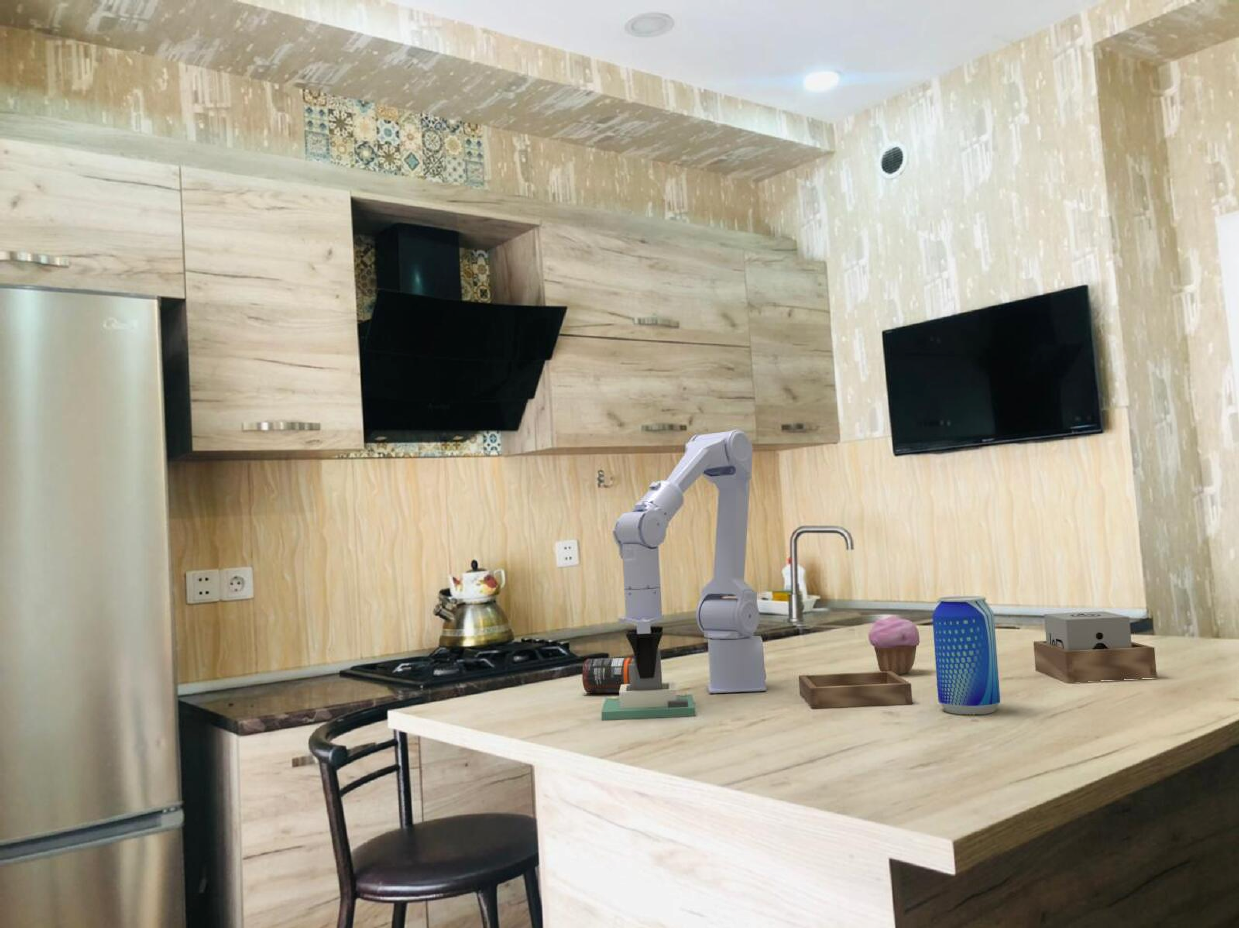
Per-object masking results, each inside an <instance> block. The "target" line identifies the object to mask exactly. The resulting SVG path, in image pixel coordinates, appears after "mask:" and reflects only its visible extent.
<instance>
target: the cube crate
mask: <svg viewBox="0 0 1239 928" xmlns="http://www.w3.org/2000/svg"><path fill="white" fill-rule="evenodd" d="M1131 644H1132V648H1115V649H1094V650H1073V651H1069V650H1066V649H1062V648H1059V647H1056V646H1053V645H1050V644H1047V643H1046V640H1039V641H1038V640H1037V641H1036V640H1035V641H1033V655H1034V663H1035V664H1034V665H1035V668H1034V669H1035V672H1038V673H1041V674H1043V673H1044V674H1043V675H1046V676H1049V677H1051V678H1053V677H1054V678H1053V679H1056V680H1059V681H1061V680H1062V681H1061V682H1063V683H1067V684H1076V683H1075V682H1084V683H1089V682H1088V681H1101V680H1124V679H1142V678H1157V679H1158V675H1157V674H1158V673H1157V664H1156V663H1157V662H1156V650H1155V647H1153V646H1149V645H1147V644H1146V645H1145V644H1143V643H1139V642H1134V641H1131Z"/></svg>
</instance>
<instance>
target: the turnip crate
mask: <svg viewBox="0 0 1239 928" xmlns="http://www.w3.org/2000/svg"><path fill="white" fill-rule="evenodd" d="M798 685H799V687H798V688H799V689H798V690H799V695H800V696H801V697H802V699H803V698H804V699H803V700H804V701H805V702H806V703H808V704H809V705H808V704H807V705H808V706H809V707H810V708H811V709H812V708H816V709H834V708H836V707H837V708H852V707H853V708H854V707H856V708H857V707H879V706H896V705H897V706H899V705H913V694H912V692H913V691H912V683H910V682H909V681H907V680H906V679H904V678H903V677H901V675H897V674H895V673H893V672H892V671H883V672H881V671H865V672H864V671H863V672H862V671H861V672H845V673H843V672H842V673H825V674H823V673H822V674H801V675H800V674H799V675H798ZM837 708H836V709H837Z"/></svg>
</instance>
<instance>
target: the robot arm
mask: <svg viewBox="0 0 1239 928" xmlns="http://www.w3.org/2000/svg"><path fill="white" fill-rule="evenodd" d="M684 449H685V451H684V455H682V458H681V459H680V460H679V461H678V463H677V464H676V466H675V468H674V469H673V470H672V471H671V473H670V474H669V476H668V477H667V479H666V480H658V481H653V482H651V484H650V485H648V486H649V490H648V491H647V492H646V494H645V495H644V496H642V498H641V499H640V501H637V502H636V503H635V504H634V508H632V510H631V511H629V512H624V513H623V514H621V515H620V516H619V517H618V518H617V520H616V522H615V525H614V530H612V536H613V538H614V539H613V540H614V542H615V544H616V545H617V547H618V551H619V553H618V554H619V557H620V559H621V560H622V570H623V571H622V573H623V591H624V608H625V616H619V617H617V618H618V619H617V620H618V621H617V622H618V623H625V624H629V625H632V626H636V628H629V629H627V631H626V632H625V637H626V639H627V640H628V642H629V644H630V646H631V649H632V653H633V656H634V655H635V660H636V664H637V669H638V673H639V676H640V679H644V678H654V673H655V665H656V655H657V649H658V648H659V645H660V642H661V639H662V637H663V634H664V633H663V631H664V630H663V626H662V625H661V626H660V625H655V624H657V623H660V622H664V621H665V620H664V615H663V610H662V607H663V605H662V604H663V603H662V589H661V571H660V570H661V569H660V554H659V546H660V545H661V544H664V541H665V538H666V536H667V528H668V527H669V523H670V521H671V520H672V519H673V518H674V516H675V515H676V514H677V513H678V511H679V510H680V509H681V508H682V506H683V505H684V500H685V497H684V495H683V494H684V493H685V492H686V491H687V490H688V489H689V488H691V486H692V485H693V484H694V483H695V482H696V481H697V480H698V478H700V477H701V476H703V477H704V478H705V479H706V480H707V481H709V482H710V483H711V484H714V485H715V486H716V488H717V489H718V496H717V497H718V499H717V501H718V502H717V511H716V512H717V515H716V528H715V545H714V561H713V572H712V579H711V580H709V582H708V583H706V585H704V587H702V589H701V593H700V600H699V602H698V605H697V607H696V610H695V611H696V612H695V619H696V624H697V625H698V628H699V629H700V630H701V632H703V637H704V638H707V647H708V648H707V649H708V665H709V683H706V684H707V689H708V692H709V694H722V693H723V694H725V693H743V692H744V693H745V692H766V690H767V686H766V685H767V684H766V683H767V682H766V680H767V672H766V667H765V653H764V643H763V638H762V636H761V635H754V633H755V632H756V630H757V628H758V625H759V623H760V611H759V606H758V593H757V591H756V590H755V589H754V588H753V587H752V586H751V585H749V583H747V582H746V581H745V571H746V557H747V541H748V540H747V536H748V524H749V523H748V520H749V509H750V508H749V507H750V506H749V503H750V488H751V479H752V474H753V473H752V472H753V471H752V470H753V454H754V453H753V452H754V447H753V443H751V441H750V439H749V437H748V435H747V434H746V433H745V432H744V431H743V430H741V429H733V430H731V431H730V430H729V431H723V432H722V431H721V432H713V433H705V434H701V433H699V434H695V435H693V436H692V437H691V438H690V440H689V441H688V442H687V443H686V444H685V446H684ZM728 597H729V598H728ZM732 597H733V598H732ZM734 597H735V598H734ZM654 625H655V626H654Z"/></svg>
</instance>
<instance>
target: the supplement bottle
mask: <svg viewBox="0 0 1239 928" xmlns="http://www.w3.org/2000/svg"><path fill="white" fill-rule="evenodd" d="M629 664H635V660H634V658H633V657H621V658H620V657H618V658H617V657H616V658H615V657H614V658H610V657H609V658H587V659H586V660H584V663H583V665H582V672H581V673H582V674H581V675H582V676H581V679H582V685H583V689H584V691H585V692H586V693H587V694H619V691H620V687H621V685H624V684H630V678H629Z"/></svg>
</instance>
